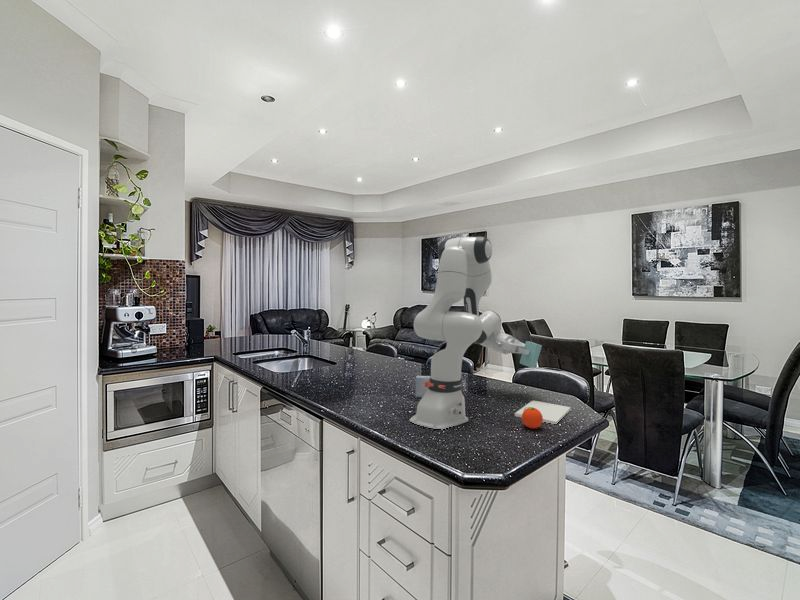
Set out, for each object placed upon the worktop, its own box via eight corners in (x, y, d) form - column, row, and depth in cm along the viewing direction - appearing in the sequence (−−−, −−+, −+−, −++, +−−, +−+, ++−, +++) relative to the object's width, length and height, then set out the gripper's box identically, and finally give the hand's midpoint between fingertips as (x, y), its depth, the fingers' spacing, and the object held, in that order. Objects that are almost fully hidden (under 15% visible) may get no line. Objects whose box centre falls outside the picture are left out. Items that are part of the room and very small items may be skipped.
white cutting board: (556, 425, 139) (556, 421, 139) (514, 416, 148) (514, 413, 148) (570, 410, 157) (570, 407, 157) (532, 403, 166) (532, 400, 166)
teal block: (529, 367, 164) (536, 344, 164) (519, 363, 168) (526, 340, 167) (535, 367, 168) (542, 345, 167) (524, 363, 171) (531, 342, 171)
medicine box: (433, 395, 174) (434, 376, 174) (433, 398, 170) (434, 378, 169) (415, 394, 175) (416, 375, 174) (415, 397, 170) (415, 377, 170)
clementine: (515, 424, 139) (515, 404, 138) (530, 422, 141) (531, 402, 141) (530, 432, 131) (531, 411, 131) (547, 430, 134) (547, 409, 134)
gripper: (495, 334, 169) (523, 344, 159) (517, 339, 183) (545, 348, 174) (490, 348, 169) (518, 359, 160) (513, 352, 184) (541, 362, 174)
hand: (532, 353), depth 167 cm, fingers closed on teal block, 5 cm apart
